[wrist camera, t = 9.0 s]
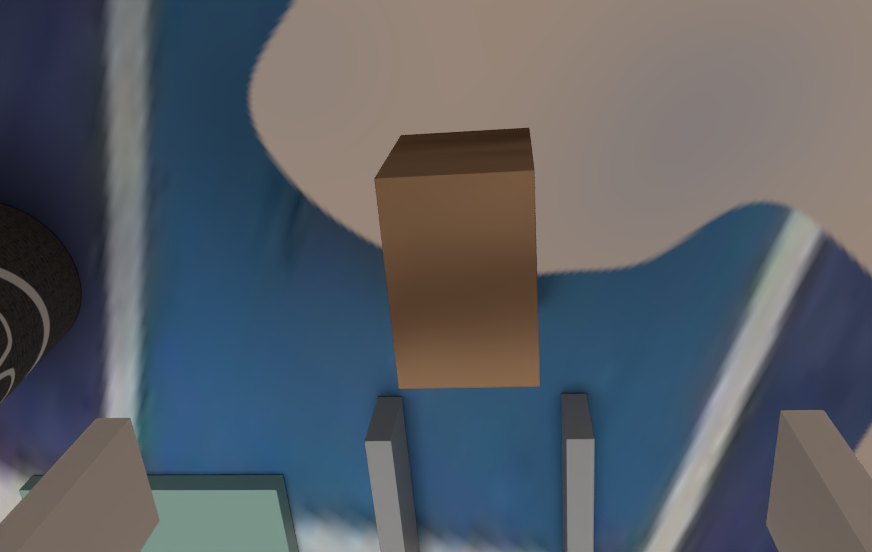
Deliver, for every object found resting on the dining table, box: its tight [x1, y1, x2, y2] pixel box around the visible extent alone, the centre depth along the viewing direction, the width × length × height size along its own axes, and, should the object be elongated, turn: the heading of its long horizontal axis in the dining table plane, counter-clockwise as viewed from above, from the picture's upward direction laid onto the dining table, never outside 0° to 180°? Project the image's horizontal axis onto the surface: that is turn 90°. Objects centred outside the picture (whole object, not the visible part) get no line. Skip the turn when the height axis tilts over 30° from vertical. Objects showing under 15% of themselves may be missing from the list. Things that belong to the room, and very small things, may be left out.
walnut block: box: [375, 128, 540, 389], centre depth 24 cm, size 7×4×6 cm, turn 5°
